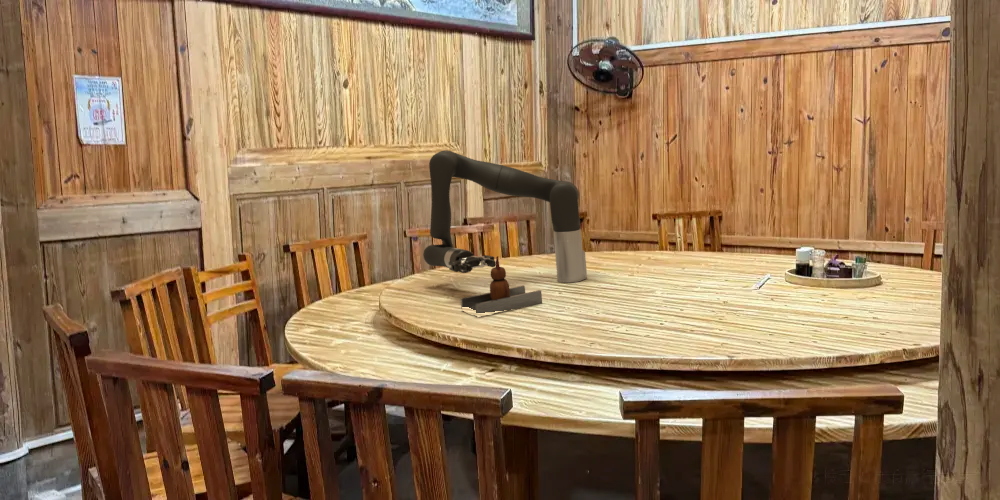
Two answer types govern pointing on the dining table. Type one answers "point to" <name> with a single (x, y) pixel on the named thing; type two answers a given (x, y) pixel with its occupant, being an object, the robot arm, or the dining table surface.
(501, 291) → the wooden figurine
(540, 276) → the dining table surface
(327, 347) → the dining table surface
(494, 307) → the sliding track
